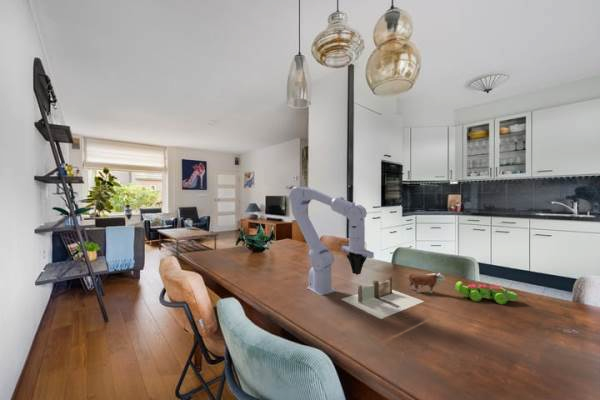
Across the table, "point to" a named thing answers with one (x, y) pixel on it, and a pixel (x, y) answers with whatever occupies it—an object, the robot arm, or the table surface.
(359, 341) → the table surface
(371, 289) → the hinged panel
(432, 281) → the bull figurine
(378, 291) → the fixed fence
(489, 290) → the toy crocodile
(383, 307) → the board
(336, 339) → the table surface
